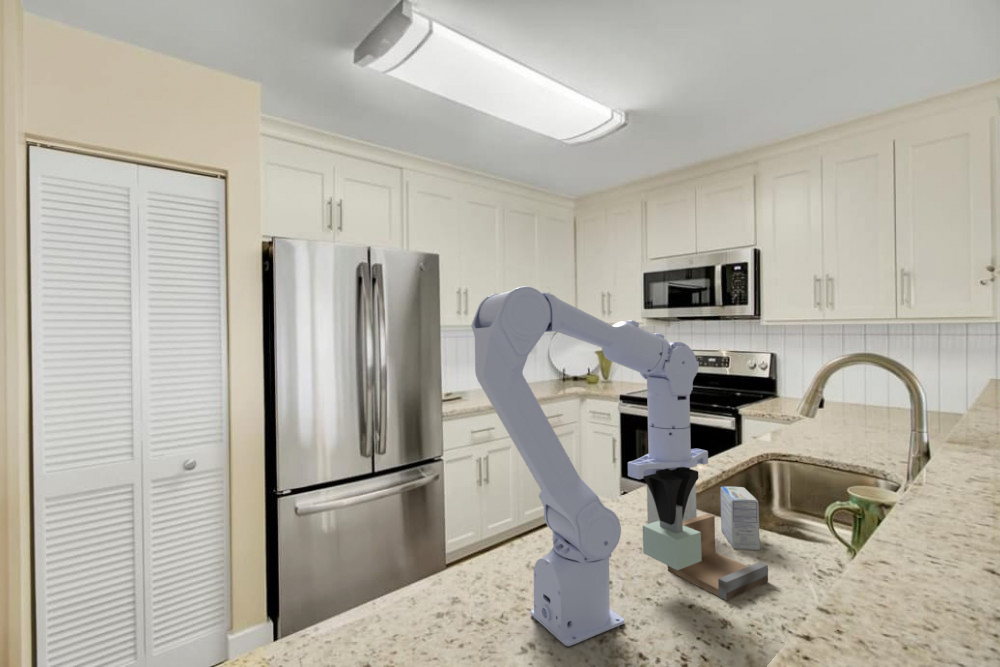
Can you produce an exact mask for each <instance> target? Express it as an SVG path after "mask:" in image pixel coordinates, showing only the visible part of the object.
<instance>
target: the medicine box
mask: <svg viewBox="0 0 1000 667" xmlns="http://www.w3.org/2000/svg"><path fill="white" fill-rule="evenodd" d="M719 494H720V528H721V533H722V534H723V536H725V539H727V541H728V542H729V544H730V545H731V547H732V548H733V549H735V550H747V551H748V550H750V551H760V549H761V545H760V544H761V543H760V542H761V541H760V540H761V539H760V517H759V516H760V513H759V512H760V511H759V509H760V508H759V501H758V500H757V498H756V497H755V496H754V495H753V494H751V492H749V491H748V490H747V489H746V488H745V487H743V486H742V487H741V486H721V487H720V493H719Z"/></svg>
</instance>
